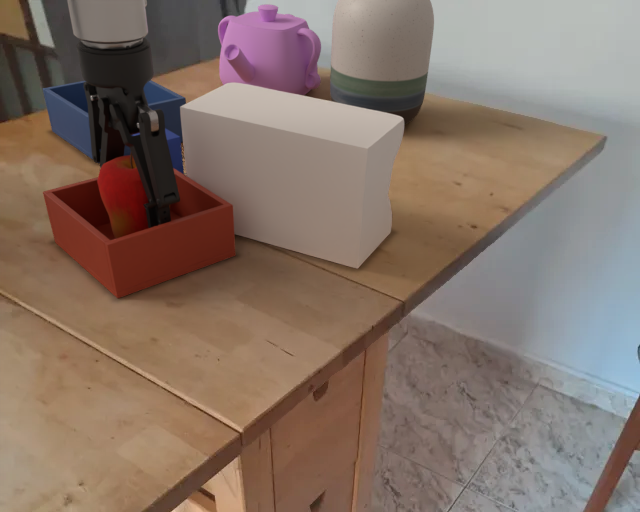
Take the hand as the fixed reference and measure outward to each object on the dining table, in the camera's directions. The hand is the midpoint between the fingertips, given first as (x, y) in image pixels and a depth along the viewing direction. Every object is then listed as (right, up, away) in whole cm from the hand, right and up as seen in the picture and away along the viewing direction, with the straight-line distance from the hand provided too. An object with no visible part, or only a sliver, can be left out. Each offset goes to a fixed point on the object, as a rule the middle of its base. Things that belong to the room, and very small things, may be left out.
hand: (143, 237), depth 87 cm
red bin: (0, -1, +1) cm, 2 cm away
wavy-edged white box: (+20, +5, +9) cm, 23 cm away
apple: (0, -1, +1) cm, 1 cm away
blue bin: (-11, +25, +29) cm, 39 cm away
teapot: (+11, +42, +48) cm, 65 cm away
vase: (+32, +32, +38) cm, 60 cm away
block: (-1, +12, +16) cm, 20 cm away
